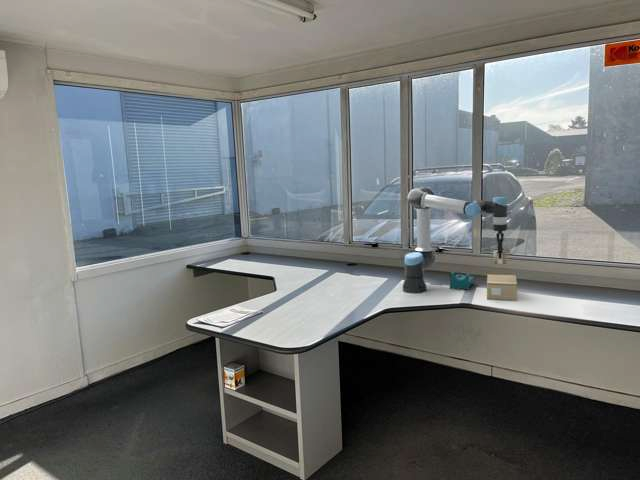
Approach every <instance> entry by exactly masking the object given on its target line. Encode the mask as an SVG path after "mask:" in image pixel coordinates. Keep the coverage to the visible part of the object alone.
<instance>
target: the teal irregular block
mask: <svg viewBox="0 0 640 480" xmlns="http://www.w3.org/2000/svg"><path fill="white" fill-rule="evenodd" d="M455 273H456V272H455V271H451V272H450V281H449V289H451V290H457V291H458V290H460V289H465V290H468V289H469V287H470V286H471V285H473V283H474V276H471V274H470V273H466V274H465V275H463V274H458V273H457V274H455Z"/></svg>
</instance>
